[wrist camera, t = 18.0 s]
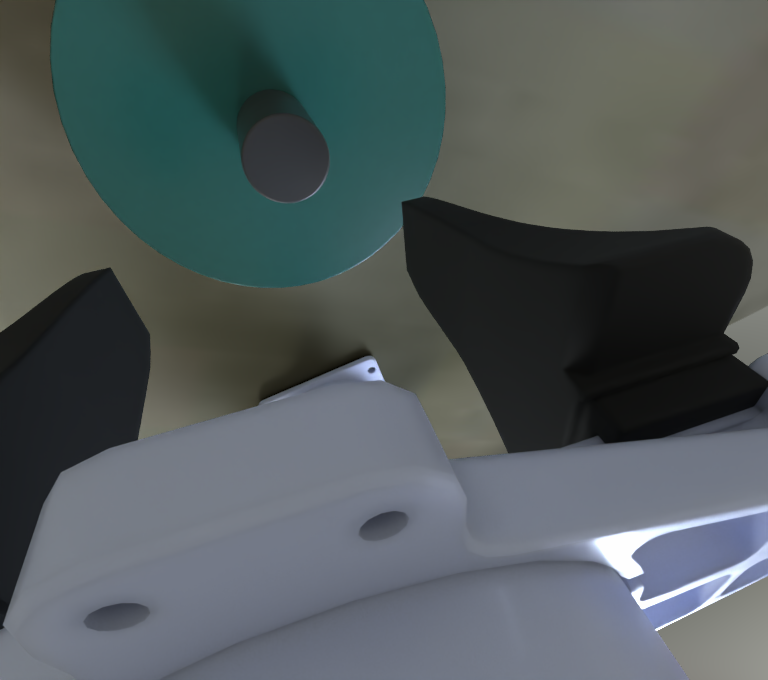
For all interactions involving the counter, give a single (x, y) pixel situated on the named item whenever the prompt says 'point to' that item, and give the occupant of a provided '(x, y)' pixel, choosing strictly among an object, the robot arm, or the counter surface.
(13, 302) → the counter surface
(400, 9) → the tin lid
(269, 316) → the counter surface
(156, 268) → the counter surface
